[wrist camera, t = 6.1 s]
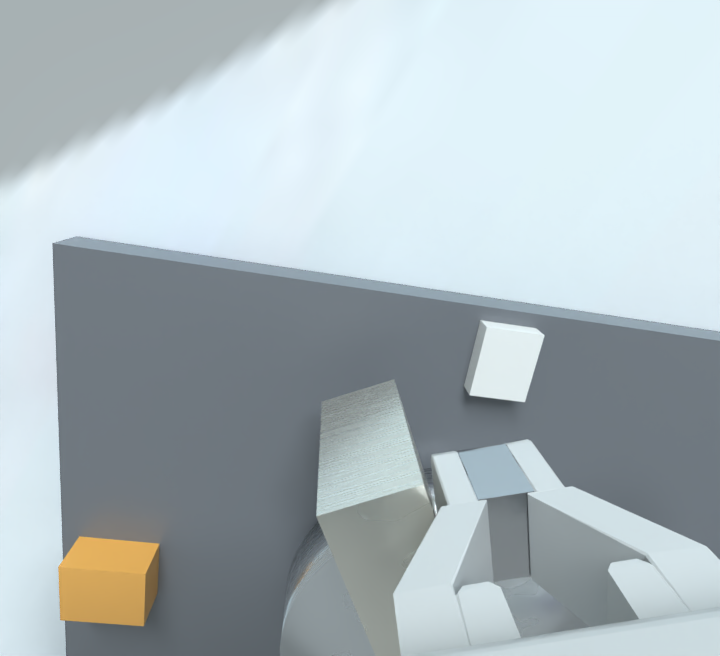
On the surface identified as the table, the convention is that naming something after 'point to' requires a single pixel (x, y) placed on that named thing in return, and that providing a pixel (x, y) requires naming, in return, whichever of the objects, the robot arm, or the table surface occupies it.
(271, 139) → the table surface
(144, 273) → the dial panel
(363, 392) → the dial
